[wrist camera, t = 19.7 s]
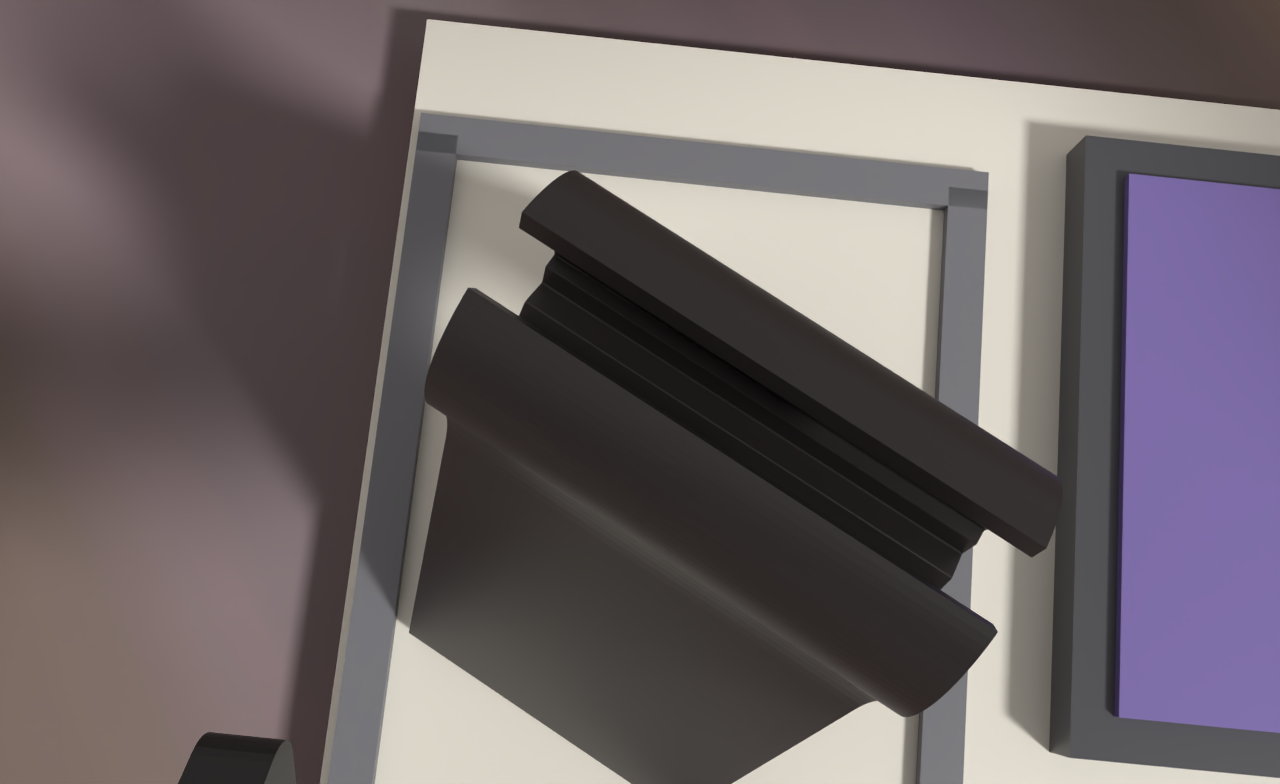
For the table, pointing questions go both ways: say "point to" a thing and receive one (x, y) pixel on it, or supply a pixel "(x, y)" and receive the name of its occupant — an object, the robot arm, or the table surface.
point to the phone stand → (696, 507)
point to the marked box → (652, 161)
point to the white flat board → (811, 284)
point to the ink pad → (1169, 460)
